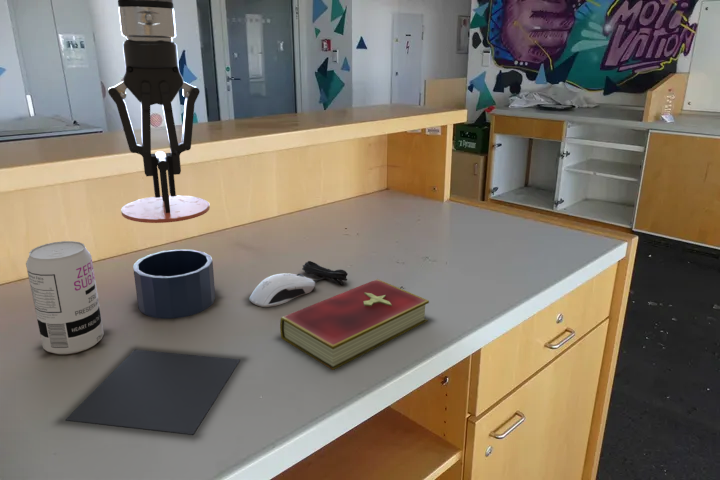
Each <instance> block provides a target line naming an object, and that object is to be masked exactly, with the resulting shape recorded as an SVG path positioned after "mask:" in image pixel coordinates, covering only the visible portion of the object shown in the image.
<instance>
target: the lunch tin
mask: <svg viewBox="0 0 720 480" xmlns="http://www.w3.org/2000/svg"><path fill="white" fill-rule="evenodd" d="M213 263H214V262H213V258H212V256H211V255H210V254H208V253H206V252H204V251H201V250H195V249H187V248H186V249H185V248H183V249H182V248H177V249H170V250H169V249H168V250H167V249H166V250H162V251H157V252H154V253H150V254H148V255H145V256H143V257H141V258H139V259H137V261H135V263H134V264H133V265H132V267H133V277H134V284H135V285H134V286H135V292H136V299H137V308H138V310H139V311H140V313H141V314H143V315H145V316H147V317H151V318H154V319H164V320H165V319H167V320H168V319H179V318H180V319H181V318H186V317H190V316H193V315H197V314H199V313H201V312H203V311H205V310H207V309H209V308H210V307H211V306H212V305H213V304H214V302H215V299H216V288H215V287H216V286H215V274H214V264H213Z"/></svg>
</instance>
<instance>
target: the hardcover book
mask: <svg viewBox="0 0 720 480" xmlns="http://www.w3.org/2000/svg"><path fill="white" fill-rule="evenodd" d="M429 303H430V300H429V299H426V298H424V297H422V296H419V295H416V294H415V293H412V292H410V291H407V290H405V289H403V288H400V287H397V286H396V285H393V284H391V283H388V282H387V281H383V280H381V279H378V278H377V279H373V280H371V281H369V282H366V283H363V284H360V285H359V286H355V287H354V288H351V289H349V290H346V291H344V292H341V293H339V294H336V295H333V296H331V297H329V298H326V299H324V300H321V301H318V302H316V303H313V304H311V305H308V306H306V307H304V308H300V309H298V310H296V311H293V312H291V313H288V314H285V315H284V316H281V318H280V321H279V329H280V330H279V331H280V338H281V339H282V340H283V341H285V342H286V343H288V344H290V345H291V346H293V347H294V348H296V349H298V350H300V351H301V352H303V353H305V354H306V355H308V356H309V357H311V358H312V359H313V360H316V361H317V362H318V363H320V364H322V365H324V366H326V367H327V368H329V369H330V370H332V371H334V370H335V369H338V368H340V367H341V366H344V365H345V364H347V363H349V362H351V361H353V360H355V359H357V358H359V357H361V356H363V355H364V354H367V353H368V352H371V351H373V350H374V349H376V348H378V347H381V346H382V345H384V344H386V343H388V342H390V341H392V340H394V339H395V338H398V337H399V336H402V335H404V334H405V333H407V332H409V331H411V330H413V329H415V328H416V327H418V326H420V325H423V324H424V323H426V322H428V321H429V320H428V319H427V318H425V316H426V305H427V304H429Z"/></svg>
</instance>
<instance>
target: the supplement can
mask: <svg viewBox="0 0 720 480" xmlns="http://www.w3.org/2000/svg"><path fill="white" fill-rule="evenodd" d="M25 266H26V271H27V277H28V280H29V286H30V291H31V296H32V300H33V306H34V310H35V311H34V312H35V316H36V321H37V325H38V330H39V335H40V339H41V345H42V349H43V350H45V351H46V352H48V353H52V354H55V355H71V354H76V353H80V352H83V351H87V350H88V349H91V348H92V347H94V346H95V345H97V343H99V342H100V341H101V340H102V339H103V337H104V334H105V333H104V326H103V320H102V314H101V307H100V299H99V294H98V287H97V282H96V275H95V268H94V262H93V256H92V254H91V252H90V251H89V250H88V248H87V247H86V246H85V244H84V243H82V242H80V241H76V240H75V241H74V240H61V241H54V242H53V241H52V242H49V243H45V244H41V245H38V246H36V247H34V248H32V249H31V250H30V251H29V252H28V257H27V260H26V262H25Z"/></svg>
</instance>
